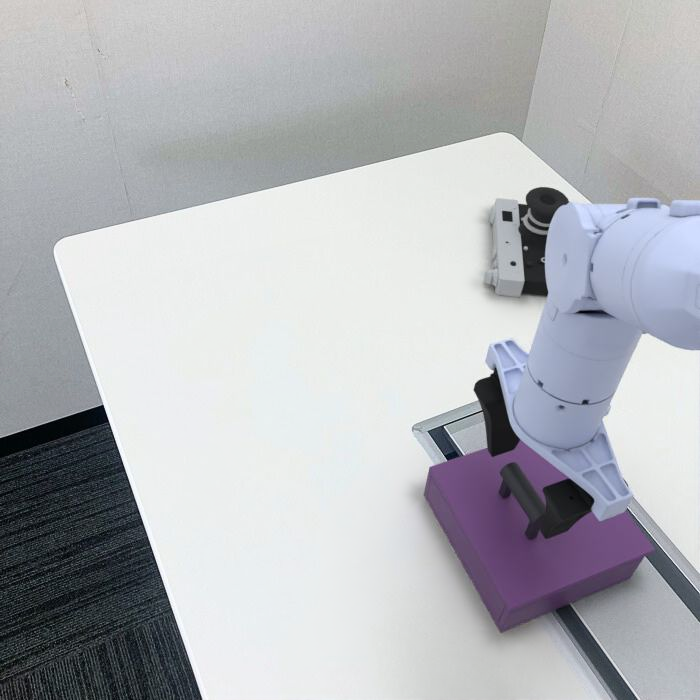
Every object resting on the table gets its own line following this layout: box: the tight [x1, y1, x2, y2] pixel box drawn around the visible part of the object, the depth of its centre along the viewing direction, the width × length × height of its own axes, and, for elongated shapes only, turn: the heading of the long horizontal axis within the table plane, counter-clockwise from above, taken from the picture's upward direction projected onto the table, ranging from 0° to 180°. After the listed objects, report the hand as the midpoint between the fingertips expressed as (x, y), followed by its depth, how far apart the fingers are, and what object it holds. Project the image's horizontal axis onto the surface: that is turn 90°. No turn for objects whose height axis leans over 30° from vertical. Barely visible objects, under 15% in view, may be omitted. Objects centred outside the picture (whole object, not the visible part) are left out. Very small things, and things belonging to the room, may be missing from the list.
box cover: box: [428, 439, 656, 612], centre depth 59 cm, size 13×13×4 cm
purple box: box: [423, 471, 645, 633], centre depth 62 cm, size 12×13×4 cm
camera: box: [483, 186, 570, 298], centre depth 87 cm, size 15×7×10 cm
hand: (526, 489), depth 57 cm, fingers open, 7 cm apart
